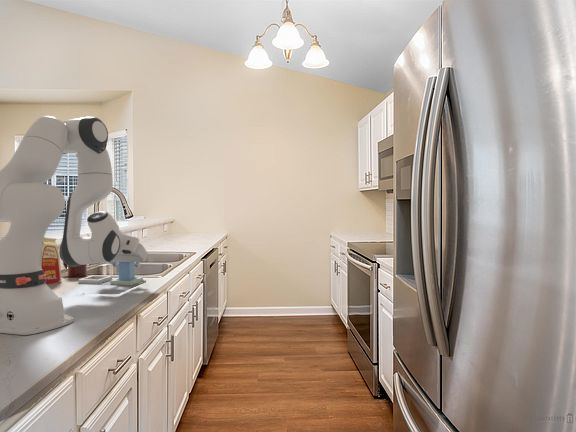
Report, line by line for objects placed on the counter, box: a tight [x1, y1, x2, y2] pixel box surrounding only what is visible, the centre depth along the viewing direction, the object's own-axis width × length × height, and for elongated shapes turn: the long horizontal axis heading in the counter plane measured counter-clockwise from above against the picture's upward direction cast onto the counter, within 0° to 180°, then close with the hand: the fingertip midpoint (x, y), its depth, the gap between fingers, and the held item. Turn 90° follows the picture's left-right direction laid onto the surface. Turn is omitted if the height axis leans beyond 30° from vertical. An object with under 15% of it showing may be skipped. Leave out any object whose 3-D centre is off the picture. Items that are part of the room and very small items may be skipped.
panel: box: [75, 274, 147, 289], centre depth 160 cm, size 24×12×2 cm, turn 81°
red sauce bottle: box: [41, 236, 63, 285], centre depth 160 cm, size 9×9×20 cm
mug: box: [62, 261, 88, 278], centre depth 174 cm, size 12×9×10 cm
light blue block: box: [118, 262, 136, 281], centre depth 159 cm, size 4×4×11 cm
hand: (127, 265), depth 159 cm, fingers open, 8 cm apart
